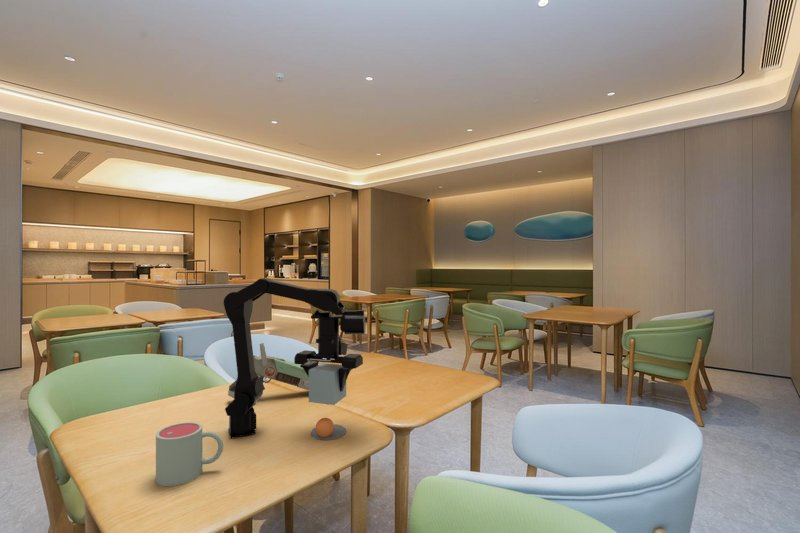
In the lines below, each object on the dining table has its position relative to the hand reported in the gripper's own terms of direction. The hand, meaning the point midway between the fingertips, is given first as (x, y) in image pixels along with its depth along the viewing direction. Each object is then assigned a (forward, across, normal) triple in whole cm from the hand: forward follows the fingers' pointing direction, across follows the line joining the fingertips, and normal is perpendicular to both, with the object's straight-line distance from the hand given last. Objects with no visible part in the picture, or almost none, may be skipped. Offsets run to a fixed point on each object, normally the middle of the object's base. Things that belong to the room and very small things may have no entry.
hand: (328, 389), depth 112 cm
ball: (+10, 0, +3) cm, 10 cm away
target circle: (+12, 0, 0) cm, 12 cm away
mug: (+12, +20, +29) cm, 37 cm away
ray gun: (+12, +30, -22) cm, 39 cm away
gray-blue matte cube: (+2, 0, 0) cm, 3 cm away
